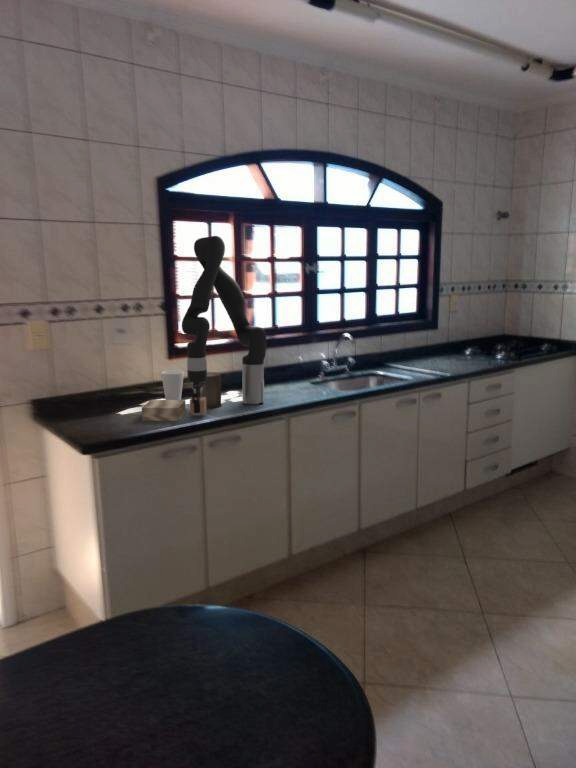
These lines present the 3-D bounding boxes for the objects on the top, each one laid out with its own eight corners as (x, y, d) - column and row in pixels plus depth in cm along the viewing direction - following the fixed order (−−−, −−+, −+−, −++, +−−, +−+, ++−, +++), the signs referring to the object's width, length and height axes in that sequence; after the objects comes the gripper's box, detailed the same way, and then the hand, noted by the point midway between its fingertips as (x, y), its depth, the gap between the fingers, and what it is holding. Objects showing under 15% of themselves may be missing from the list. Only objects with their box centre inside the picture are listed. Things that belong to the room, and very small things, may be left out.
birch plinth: (185, 412, 232) (185, 400, 231) (178, 420, 218) (178, 408, 217) (151, 411, 232) (150, 399, 231) (142, 420, 219) (141, 407, 218)
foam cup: (162, 404, 245) (161, 374, 243) (161, 399, 254) (160, 370, 252) (185, 403, 248) (184, 373, 245) (183, 398, 257) (182, 370, 254)
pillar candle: (225, 404, 246) (224, 369, 244) (214, 409, 238) (213, 373, 235) (205, 402, 250) (204, 368, 247) (194, 407, 241) (192, 372, 238)
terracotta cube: (206, 410, 228) (206, 397, 226) (204, 414, 222) (204, 400, 221) (192, 410, 228) (192, 397, 227) (190, 414, 222) (189, 400, 221)
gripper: (203, 371, 214) (205, 415, 218) (209, 365, 228) (210, 406, 232) (183, 371, 214) (185, 415, 218) (190, 365, 229) (192, 406, 232)
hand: (198, 410), depth 225 cm, fingers closed on terracotta cube, 5 cm apart
